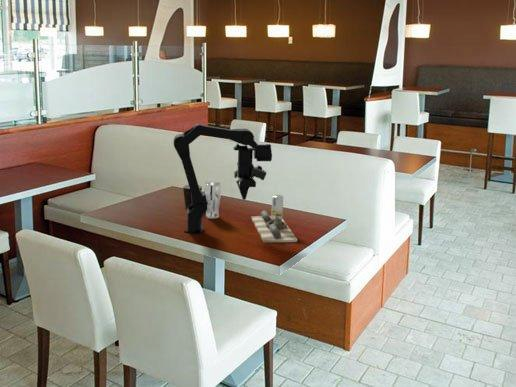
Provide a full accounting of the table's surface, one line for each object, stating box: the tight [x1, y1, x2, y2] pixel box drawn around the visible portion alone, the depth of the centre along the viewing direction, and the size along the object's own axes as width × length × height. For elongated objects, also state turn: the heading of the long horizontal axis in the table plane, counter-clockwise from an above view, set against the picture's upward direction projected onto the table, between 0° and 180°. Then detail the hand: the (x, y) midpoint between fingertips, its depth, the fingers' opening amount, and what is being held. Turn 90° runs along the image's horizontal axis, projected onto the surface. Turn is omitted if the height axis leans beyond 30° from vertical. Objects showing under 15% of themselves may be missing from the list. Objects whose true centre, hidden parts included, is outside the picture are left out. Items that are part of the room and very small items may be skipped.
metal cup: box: [270, 194, 284, 226], centre depth 236 cm, size 5×5×13 cm
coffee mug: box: [182, 184, 203, 210], centre depth 262 cm, size 12×9×10 cm
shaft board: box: [250, 210, 298, 244], centre depth 237 cm, size 32×13×4 cm, turn 10°
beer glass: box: [204, 181, 222, 220], centre depth 250 cm, size 7×7×15 cm
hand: (244, 199), depth 232 cm, fingers closed
